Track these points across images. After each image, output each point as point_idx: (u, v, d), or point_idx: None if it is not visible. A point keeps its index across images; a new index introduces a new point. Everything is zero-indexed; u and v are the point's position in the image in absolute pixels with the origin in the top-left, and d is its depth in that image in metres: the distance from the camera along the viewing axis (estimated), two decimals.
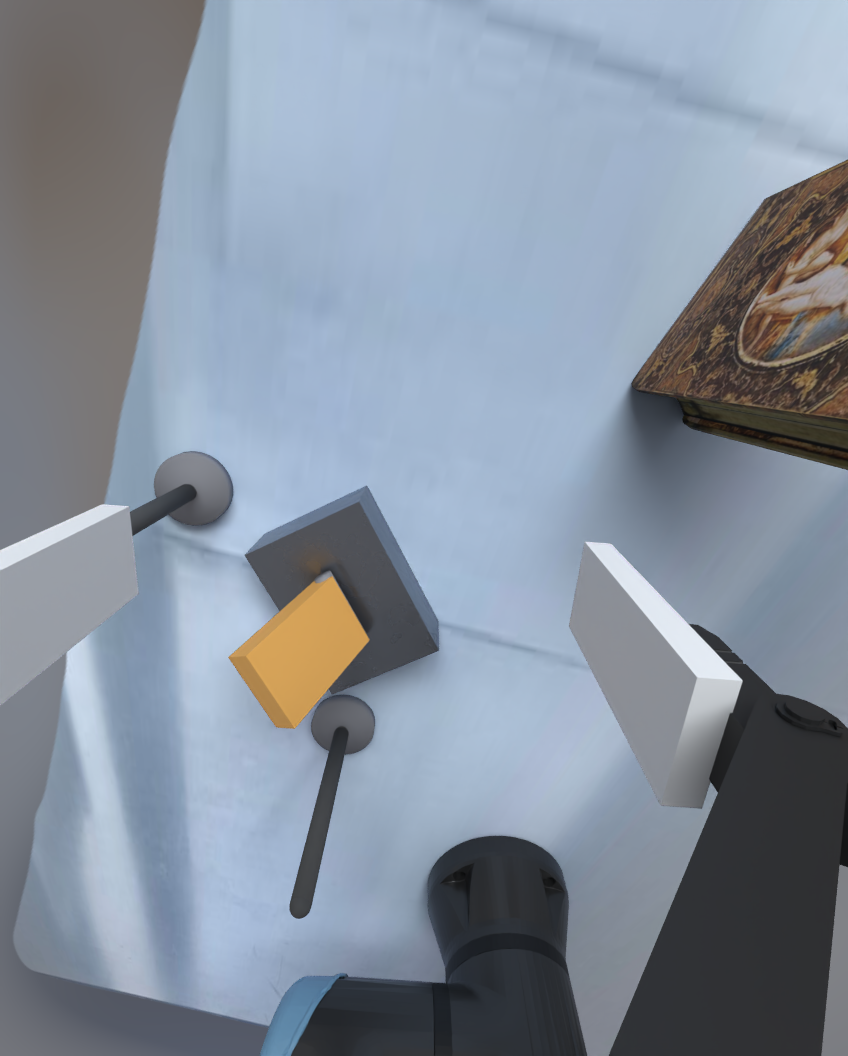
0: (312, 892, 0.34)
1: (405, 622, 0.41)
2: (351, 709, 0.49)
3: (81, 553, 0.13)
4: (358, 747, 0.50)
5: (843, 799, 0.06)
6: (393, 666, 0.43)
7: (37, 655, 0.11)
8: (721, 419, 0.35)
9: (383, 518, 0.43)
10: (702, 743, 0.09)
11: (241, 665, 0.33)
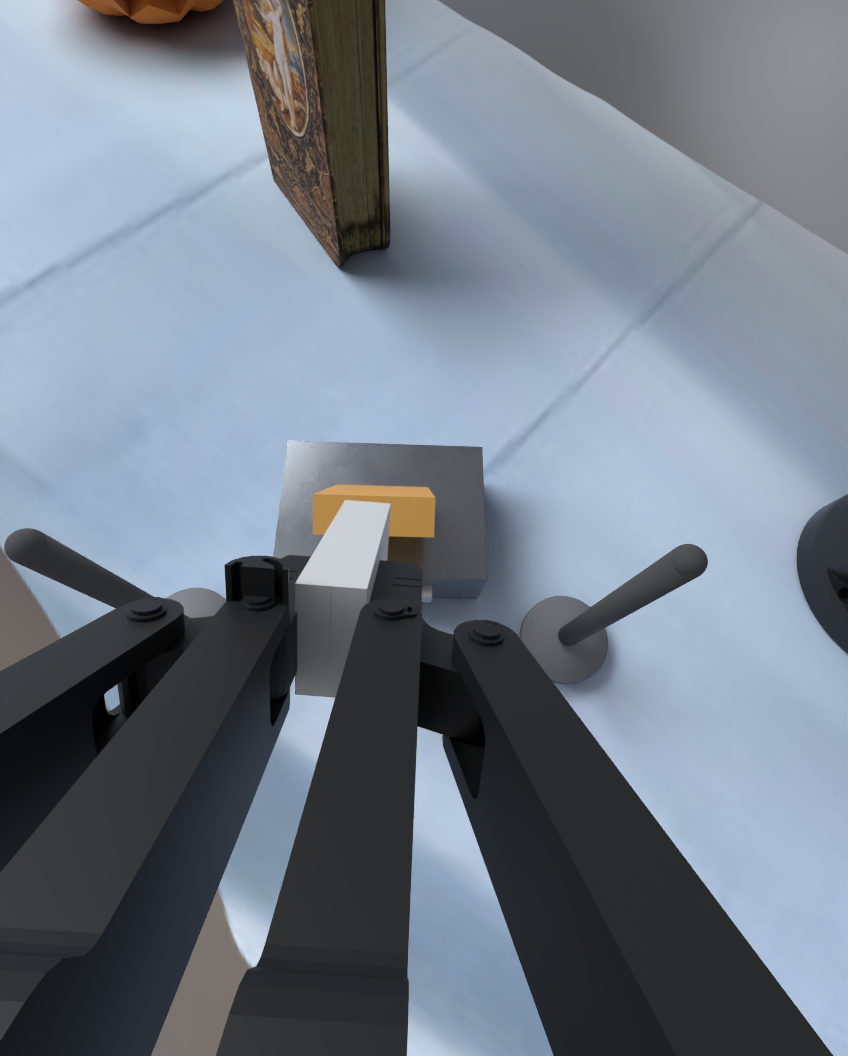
0: None
1: (434, 461, 0.37)
2: (540, 611, 0.37)
3: None
4: (600, 632, 0.37)
5: (418, 659, 0.08)
6: (480, 497, 0.36)
7: None
8: (377, 192, 0.46)
9: None
10: (348, 642, 0.11)
11: (326, 517, 0.25)
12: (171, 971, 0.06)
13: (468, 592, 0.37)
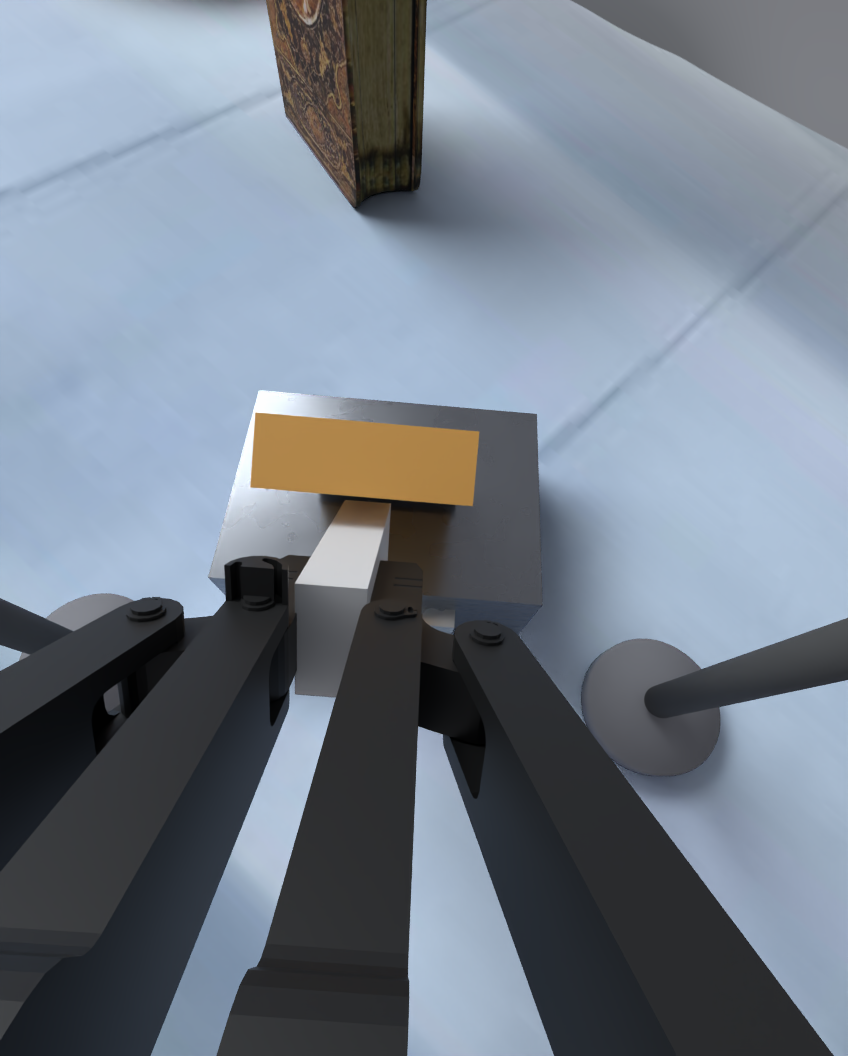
0: None
1: (467, 429, 0.25)
2: (615, 660, 0.24)
3: None
4: None
5: (419, 659, 0.08)
6: (533, 482, 0.24)
7: None
8: (408, 106, 0.36)
9: None
10: (349, 642, 0.11)
11: (277, 456, 0.14)
12: (170, 971, 0.06)
13: (507, 625, 0.25)
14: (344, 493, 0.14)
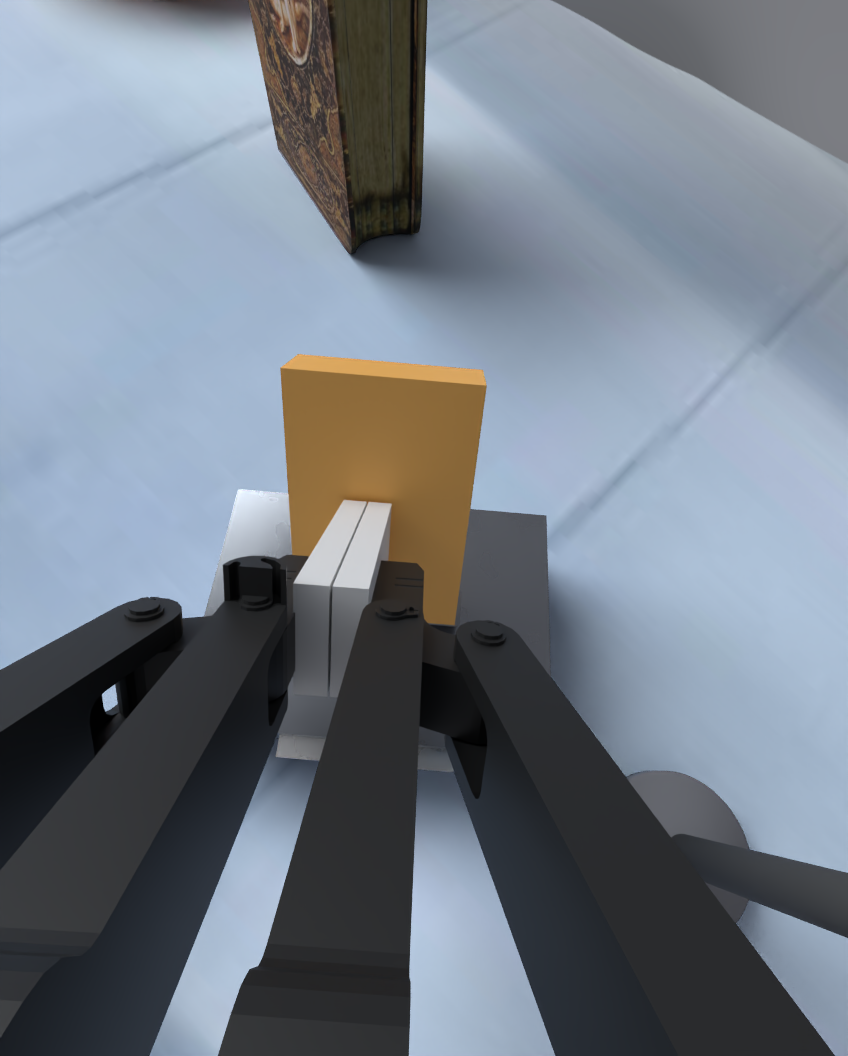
0: None
1: (469, 535, 0.23)
2: None
3: None
4: (738, 845, 0.21)
5: (420, 660, 0.08)
6: (543, 601, 0.22)
7: None
8: (407, 149, 0.33)
9: None
10: (350, 642, 0.11)
11: (310, 363, 0.16)
12: (169, 971, 0.06)
13: None
14: (367, 374, 0.15)
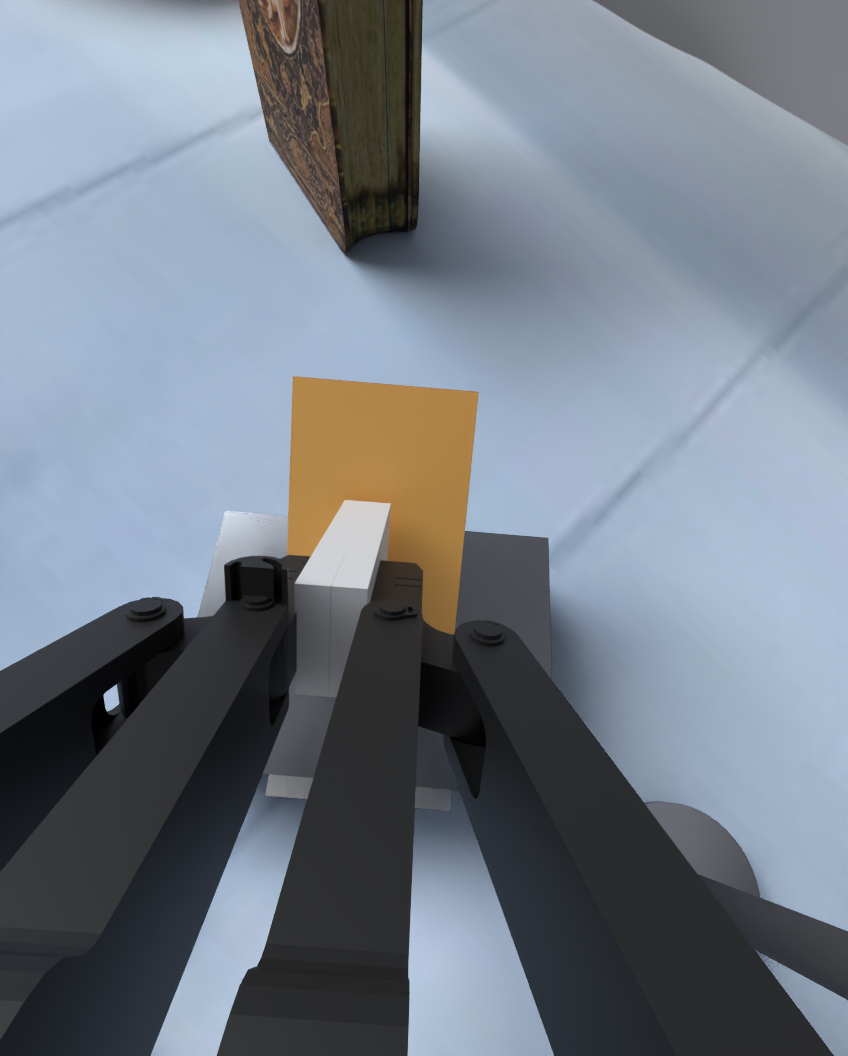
0: None
1: (467, 559, 0.22)
2: None
3: None
4: (746, 881, 0.20)
5: (419, 659, 0.08)
6: (544, 630, 0.21)
7: None
8: (403, 143, 0.32)
9: None
10: (349, 642, 0.11)
11: None
12: (170, 970, 0.06)
13: None
14: None
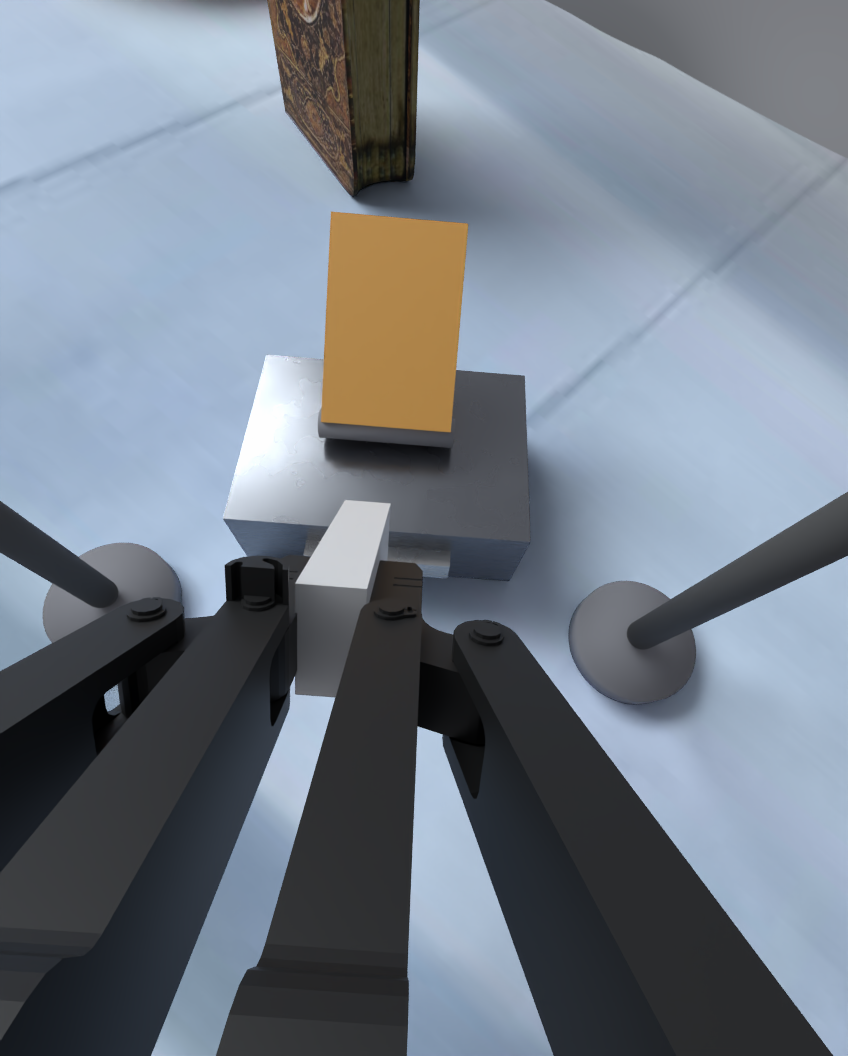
0: None
1: (460, 389, 0.27)
2: (599, 601, 0.26)
3: None
4: (684, 631, 0.26)
5: (418, 659, 0.08)
6: (522, 436, 0.26)
7: None
8: (402, 99, 0.38)
9: None
10: (348, 642, 0.11)
11: None
12: (171, 971, 0.06)
13: (499, 569, 0.27)
14: None
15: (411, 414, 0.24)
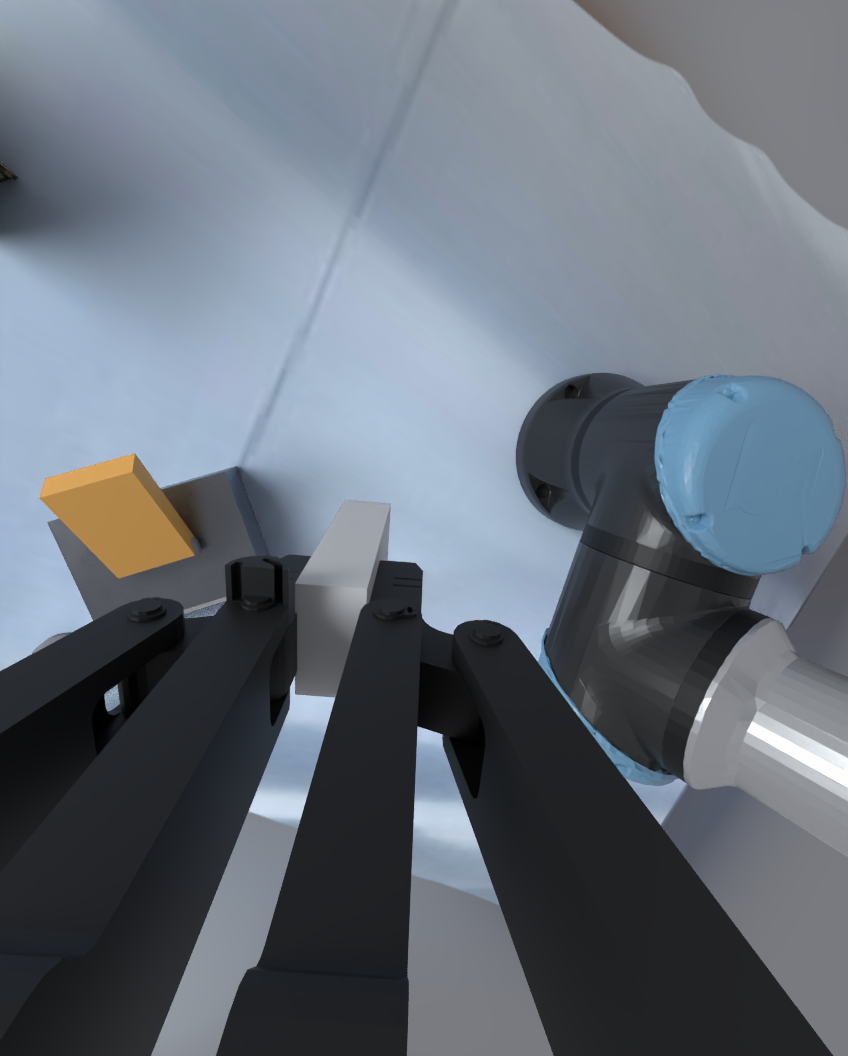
0: None
1: (188, 499, 0.41)
2: None
3: None
4: None
5: (418, 659, 0.08)
6: (239, 519, 0.42)
7: None
8: None
9: None
10: (348, 642, 0.11)
11: (52, 486, 0.34)
12: (171, 971, 0.06)
13: None
14: (78, 486, 0.34)
15: (167, 557, 0.40)
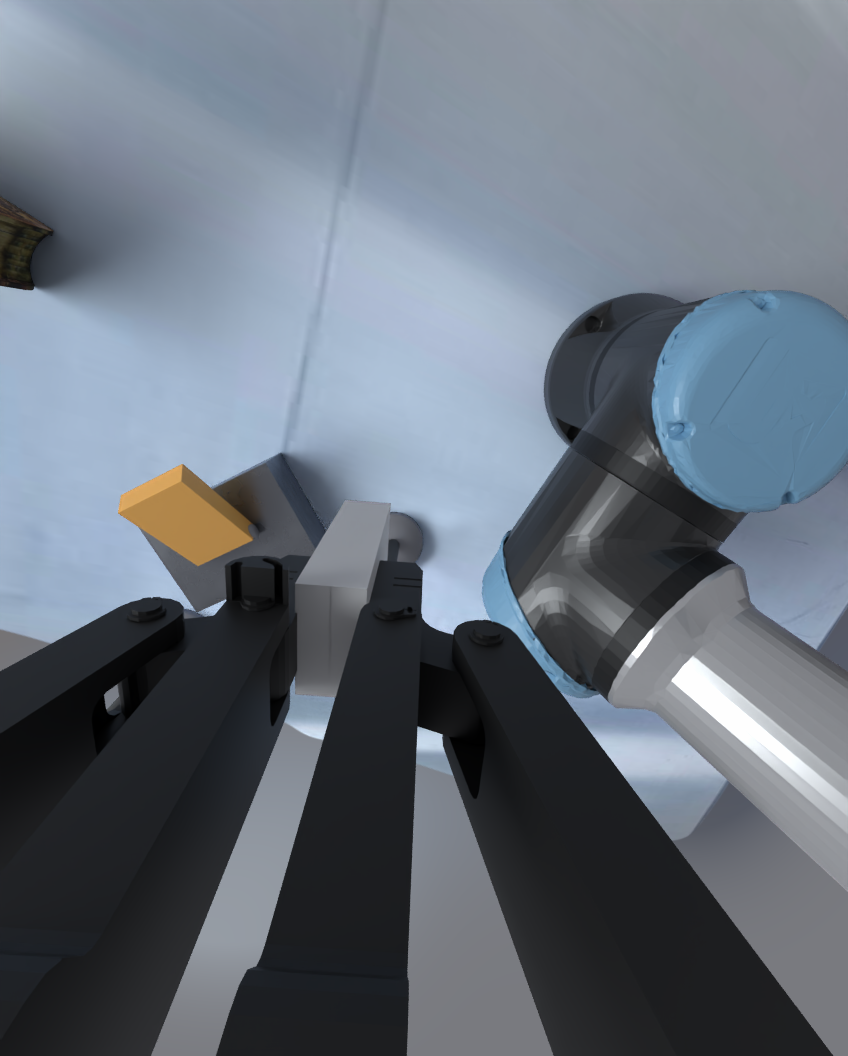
0: None
1: (240, 491, 0.47)
2: None
3: None
4: (412, 527, 0.52)
5: (418, 659, 0.08)
6: (286, 502, 0.47)
7: None
8: None
9: None
10: (348, 642, 0.11)
11: (126, 501, 0.41)
12: (171, 971, 0.06)
13: None
14: (144, 499, 0.40)
15: (231, 544, 0.46)
